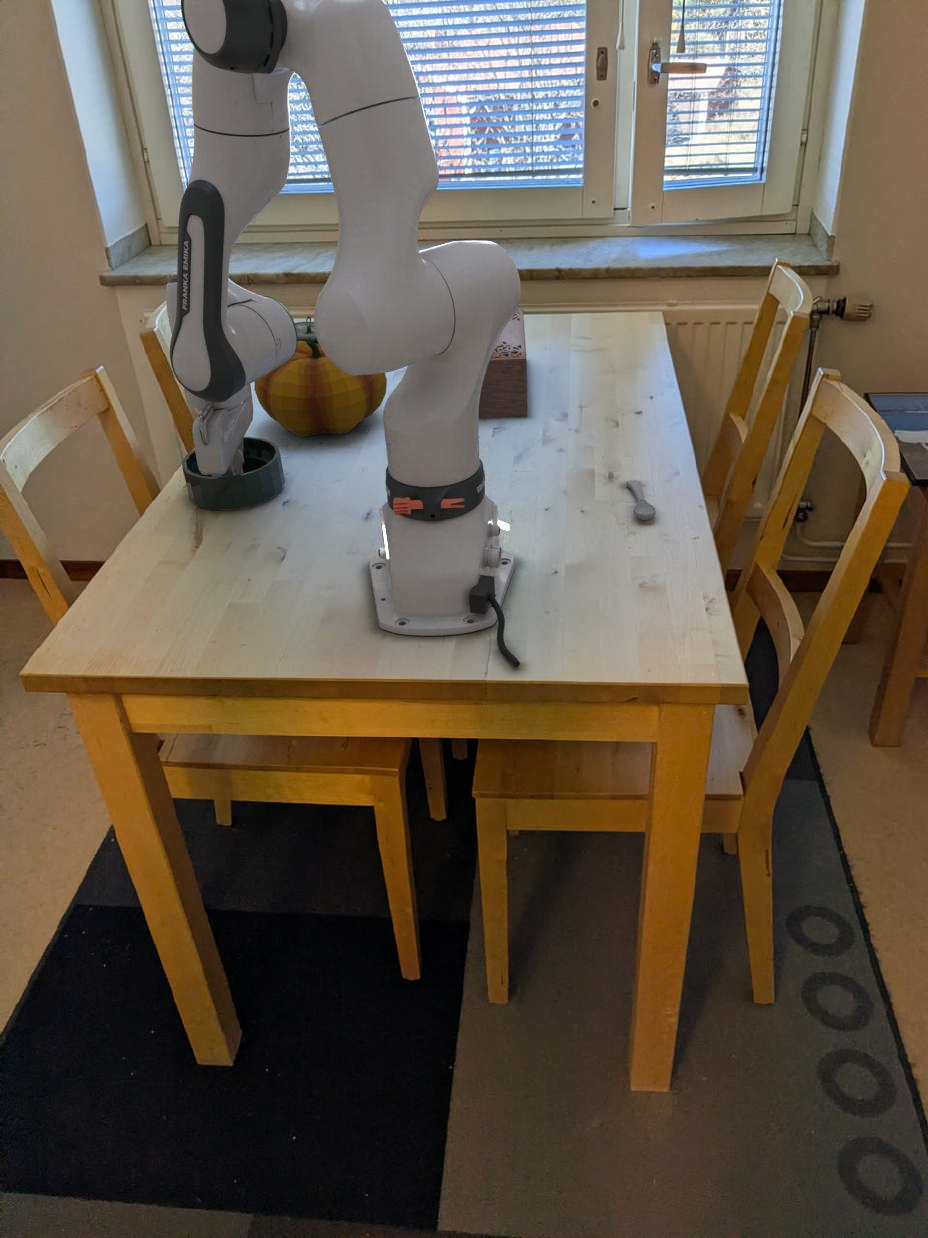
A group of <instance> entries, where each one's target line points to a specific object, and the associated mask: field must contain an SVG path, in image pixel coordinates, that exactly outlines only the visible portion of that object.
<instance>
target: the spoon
mask: <svg viewBox="0 0 928 1238" xmlns="http://www.w3.org/2000/svg"><path fill="white" fill-rule="evenodd" d="M625 484H626V486H627V487H628V488H629V489H630V490H631V491H632V492H633V494H634V495H635V497H636V502H637V503H635V505H634V507H633V510H632V512H633V515H634V516H635V517H636V518H637V519H639V520H641V521H649V520H652V519H653V518H654V517H655V516H656V514H657V509H656V507H655V506H654V505H652V504H651V503H649V502H648V501H647V500H646V498H645V495H644V492H643V488H642V486H641V482H640V480H637V479H634V480H631V479H630V480H626V482H625Z"/></svg>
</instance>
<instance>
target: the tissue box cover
mask: <svg viewBox="0 0 928 1238" xmlns="http://www.w3.org/2000/svg"><path fill="white" fill-rule="evenodd" d="M527 360H528V359H527V345H526V332H525V316H524V309H523V308H520V309H519V308H518V309H517V311H516V313H515V315H514V316H513V317H512V319H511V320H510V321H509V323H508V324H507V325H506V327H505V328H504V330H503V331H502V333H501V335H500V337H499V339H498V340H497V342H496V345H495V347H494V349H493V352H492V355H491V357H490V360H489V363H488V366H487V370H486V373H485V376H484V380H483V384H482V389H481V394H480V401H479V419H480V420H481V419H503V418H523V417H524V418H526V417H527V418H528V417H529V415H528V414H529V412H528V367H527V365H528V364H527V363H528V361H527Z"/></svg>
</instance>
